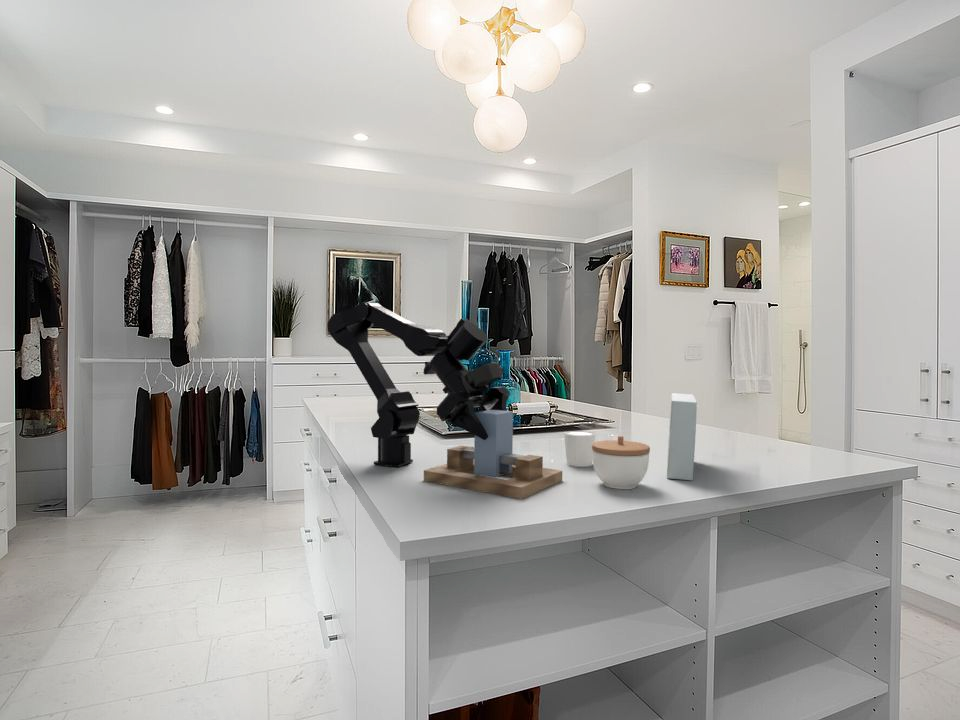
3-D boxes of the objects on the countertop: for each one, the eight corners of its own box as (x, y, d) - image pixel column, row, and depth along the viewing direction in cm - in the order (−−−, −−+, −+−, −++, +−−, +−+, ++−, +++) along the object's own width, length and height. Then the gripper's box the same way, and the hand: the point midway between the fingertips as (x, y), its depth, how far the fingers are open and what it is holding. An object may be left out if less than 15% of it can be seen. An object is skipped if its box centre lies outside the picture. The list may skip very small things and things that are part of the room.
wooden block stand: (423, 480, 110) (423, 452, 110) (470, 466, 123) (471, 441, 123) (521, 498, 98) (521, 467, 97) (562, 480, 111) (562, 452, 111)
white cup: (562, 460, 130) (562, 430, 130) (592, 461, 130) (592, 430, 130) (565, 467, 123) (566, 435, 123) (597, 467, 123) (597, 435, 123)
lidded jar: (598, 492, 102) (599, 441, 102) (586, 478, 113) (586, 432, 113) (657, 492, 103) (658, 441, 102) (639, 478, 113) (640, 432, 113)
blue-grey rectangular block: (495, 477, 106) (496, 414, 106) (474, 474, 109) (474, 412, 109) (512, 471, 111) (512, 411, 111) (491, 468, 114) (491, 409, 114)
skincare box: (695, 482, 111) (697, 401, 111) (666, 479, 113) (668, 400, 112) (692, 461, 131) (693, 393, 131) (667, 459, 133) (668, 392, 132)
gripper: (449, 348, 104) (499, 413, 98) (502, 348, 120) (548, 404, 114) (416, 389, 109) (462, 452, 103) (472, 383, 124) (514, 438, 118)
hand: (499, 435), depth 109 cm, fingers open, 9 cm apart
